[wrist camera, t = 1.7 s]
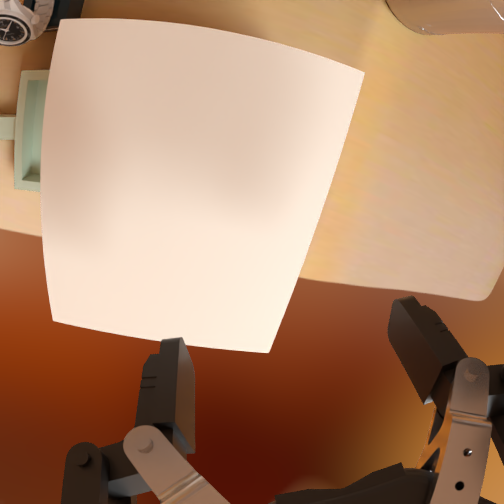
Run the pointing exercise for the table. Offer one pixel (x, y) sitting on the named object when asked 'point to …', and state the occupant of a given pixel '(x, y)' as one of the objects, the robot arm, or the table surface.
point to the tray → (27, 129)
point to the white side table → (184, 177)
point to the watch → (33, 18)
